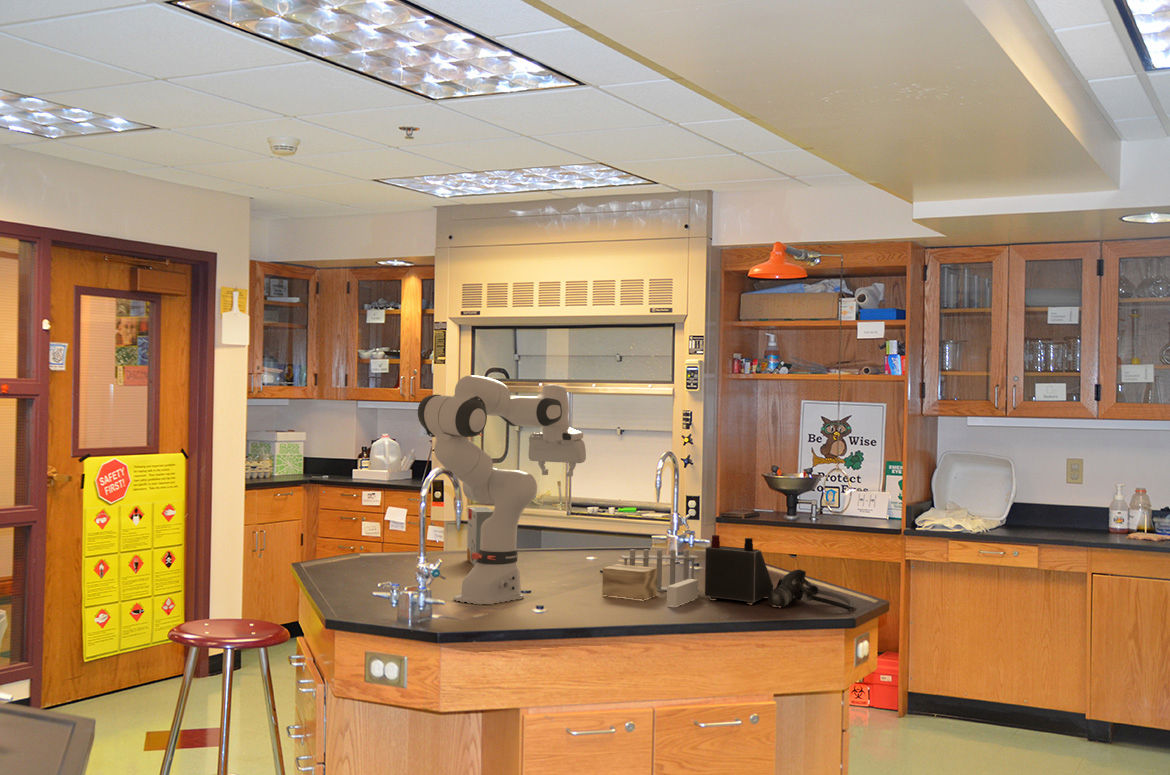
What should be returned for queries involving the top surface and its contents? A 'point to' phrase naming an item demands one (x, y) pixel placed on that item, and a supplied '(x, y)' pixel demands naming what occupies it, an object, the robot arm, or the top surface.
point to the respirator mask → (802, 591)
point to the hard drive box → (475, 529)
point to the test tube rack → (659, 564)
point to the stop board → (682, 592)
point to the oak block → (629, 581)
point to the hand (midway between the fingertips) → (557, 475)
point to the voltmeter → (736, 572)
